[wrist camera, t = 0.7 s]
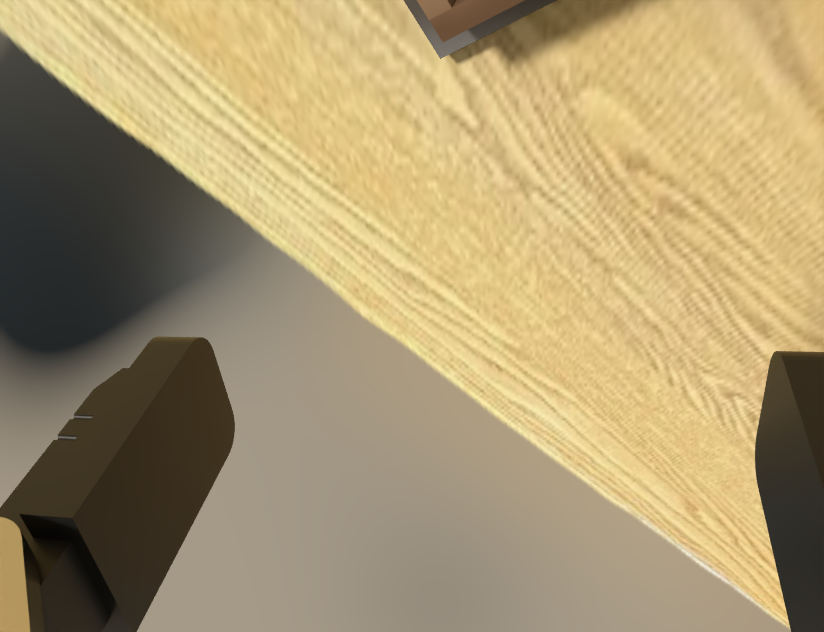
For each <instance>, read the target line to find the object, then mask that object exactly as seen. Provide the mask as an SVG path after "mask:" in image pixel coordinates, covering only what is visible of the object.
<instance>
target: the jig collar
mask: <svg viewBox="0 0 824 632" xmlns="http://www.w3.org/2000/svg"><path fill="white" fill-rule="evenodd" d="M554 1H556V0H404V2H405V3H406V5H407V6H408V8H409V10H410V11H411V13H412V14H413V16H414V17H415V19H416V21H417V22H418V24H419V25H420V27H421V29H422V30H423V32H424V33H425V35H426V37H427V38H428V40H429V41H430V43H431V45H432V46H433V48H434V49H435V51H436V53H437V54H438V56H439V57H440V59H441V58H443V57H445V56H447V55H449V54H451V53H453V52H455V51H457V50H459V49H461V48H463V47H465V46H467V45H469V44H471V43H473V42H475V41H477V40H479V39H481V38H483V37H485V36H487V35H489V34H491V33H493V32H495V31H497V30H499V29H501V28H502V27H504V26H506V25H508V24H510V23H512V22H514V21H516V20H518V19H520V18H522V17H524V16H526V15H528V14H530V13H532V12H534V11H536V10H538V9H540V8H542V7H544V6H546V5H548V4H550V3H552V2H554Z"/></svg>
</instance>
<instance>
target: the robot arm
mask: <svg viewBox="0 0 824 632" xmlns="http://www.w3.org/2000/svg"><path fill="white" fill-rule="evenodd" d="M234 431H235V423H234V415H233V411H232V407H231V404H230V401H229V398H228V395H227V392H226V389H225V386H224V382H223V380H222V376H221V373H220V370H219V367H218V364H217V361H216V357H215V354H214V351H213V349H212V346H211V344H210V343H209V342H208V340H206V339H205V338H200V337H155V338H153V339H152V340H151V341H150V342H149V343H148V344H147V346H146V347H145V348H144V349H143V351H142V352H141V354H140V355H139V356H138V357H137V359H136V360H135V361H134V363H133V364H132V365H131V367H130V368H123V369H121V370H120V371H118V372H117V373H116V374H114V375H113V376H112V377H110V378H109V379H107V380H106V381H105V382H103V383H102V384H100V385H99V386H98V387H96V388H95V389H94V390H93V391H92V392H91V393H90V395H89V396H88V397H87V398H86V400H85V401H84V402H83V404H82V405H81V406H80V407H79V409H78V410H77V411H76V412H75V414H74V419H72V420H71V419H70V420H69V421H68V423H67V424H66V425H65V426H64V428H63V429H62V430H61V431H60V433H59V434H58V440H53V442H52V443H51V444H50V445H49V447H48V448H47V449H46V451H45V452H44V453H43V454H42V456H41V457H40V458H39V459H38V461H37V462H36V463H35V464H34V466H33V467H32V468H31V469H30V471H29V472H28V473H27V475H26V476H25V477H24V478H23V480H22V481H21V482H20V483H19V485H18V486H17V487H16V489H15V490H14V491H13V492H12V494H11V495H10V496H9V498H8V499H7V500H6V501H5V503H4V504H3V505H2V506H1V508H0V632H137V630H138V628H139V626H140V624H141V622H142V620H143V618H144V616H145V614H146V612H147V611H148V609H149V607H150V605H151V603H152V601H153V599H154V597H155V595H156V593H157V591H158V589H159V587H160V586H161V584H162V582H163V580H164V578H165V576H166V574H167V572H168V570H169V568H170V566H171V564H172V563H173V561H174V559H175V557H176V555H177V553H178V551H179V549H180V547H181V545H182V543H183V541H184V540H185V538H186V536H187V534H188V531H189V530H190V528H191V526H192V524H193V522H194V520H195V518H196V516H197V514H198V513H199V511H200V509H201V507H202V505H203V503H204V501H205V499H206V497H207V495H208V493H209V491H210V490H211V488H212V486H213V484H214V482H215V480H216V478H217V476H218V474H219V472H220V470H221V468H222V467H223V465H224V463H225V461H226V459H227V457H228V455H229V453H230V450H231V448H232V444H233V439H234ZM755 467H756V477H757V484H758V488H759V493H760V497H761V502H762V506H763V510H764V515H765V519H766V523H767V528H768V532H769V537H770V541H771V545H772V550H773V554H774V558H775V563H776V567H777V572H778V576H779V580H780V585H781V589H782V593H783V598H784V602H785V607H786V611H787V615H788V620H789V624H790V628H791V632H824V352H791V351H776V352H774V353H773V355H772V357H771V361H770V365H769V370H768V376H767V381H766V387H765V392H764V398H763V403H762V409H761V414H760V419H759V425H758V430H757V436H756V445H755Z"/></svg>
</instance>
